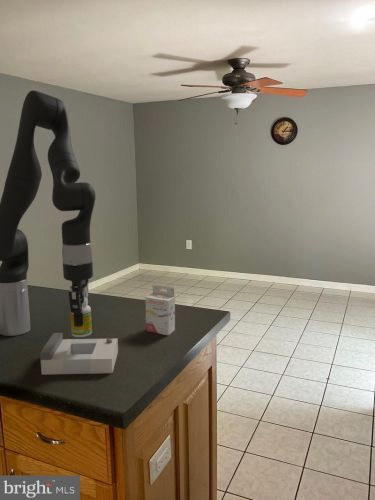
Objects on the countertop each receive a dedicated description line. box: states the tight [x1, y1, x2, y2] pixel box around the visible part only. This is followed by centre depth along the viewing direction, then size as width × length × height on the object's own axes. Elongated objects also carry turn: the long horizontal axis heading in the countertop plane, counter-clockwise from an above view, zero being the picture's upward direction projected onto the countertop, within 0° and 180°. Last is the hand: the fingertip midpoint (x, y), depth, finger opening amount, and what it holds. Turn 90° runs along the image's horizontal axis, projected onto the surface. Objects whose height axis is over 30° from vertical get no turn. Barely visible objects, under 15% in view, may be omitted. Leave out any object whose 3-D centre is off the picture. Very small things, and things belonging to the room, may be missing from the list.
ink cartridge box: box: [145, 284, 176, 336], centre depth 136 cm, size 9×5×15 cm, turn 65°
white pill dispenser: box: [39, 332, 119, 375], centre depth 114 cm, size 18×13×6 cm
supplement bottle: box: [69, 297, 93, 338], centre depth 113 cm, size 5×5×10 cm
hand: (81, 321), depth 113 cm, fingers closed on supplement bottle, 5 cm apart
